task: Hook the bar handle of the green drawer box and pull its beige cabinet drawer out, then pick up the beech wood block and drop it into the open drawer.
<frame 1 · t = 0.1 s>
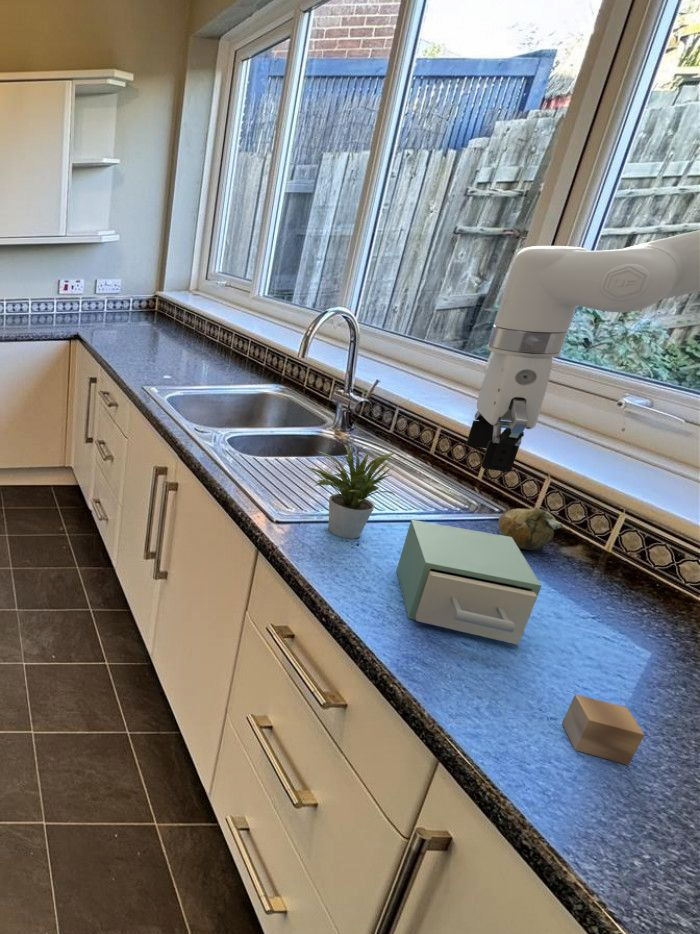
hand: (486, 457, 90), 22 cm above the countertop, tool pointing down, fingers open, 9 cm apart
house plant: (345, 529, 116), on the countertop
onion: (519, 546, 110), on the countertop
beige cabinet drawer: (467, 593, 88), point 5 cm above the countertop, slide at 0.5 cm
block: (593, 743, 69), on the countertop
green drawer box: (451, 604, 94), on the countertop
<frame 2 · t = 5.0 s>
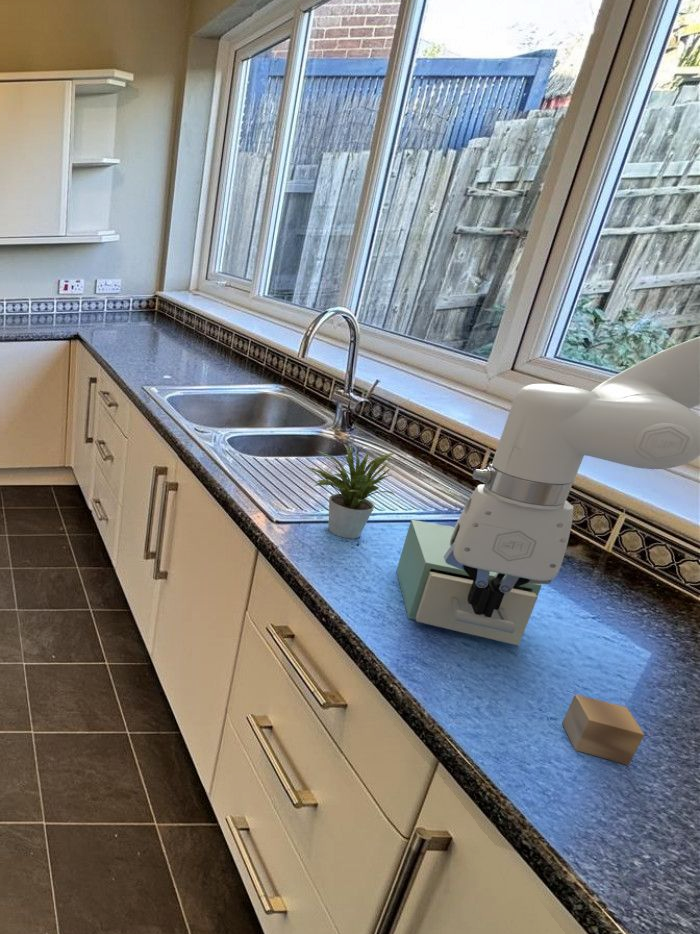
hand: (480, 610, 82), 6 cm above the countertop, tool pointing down, fingers closed
beige cabinet drawer: (467, 594, 88), point 5 cm above the countertop, slide at 0.7 cm, touching gripper
everything else where it was.
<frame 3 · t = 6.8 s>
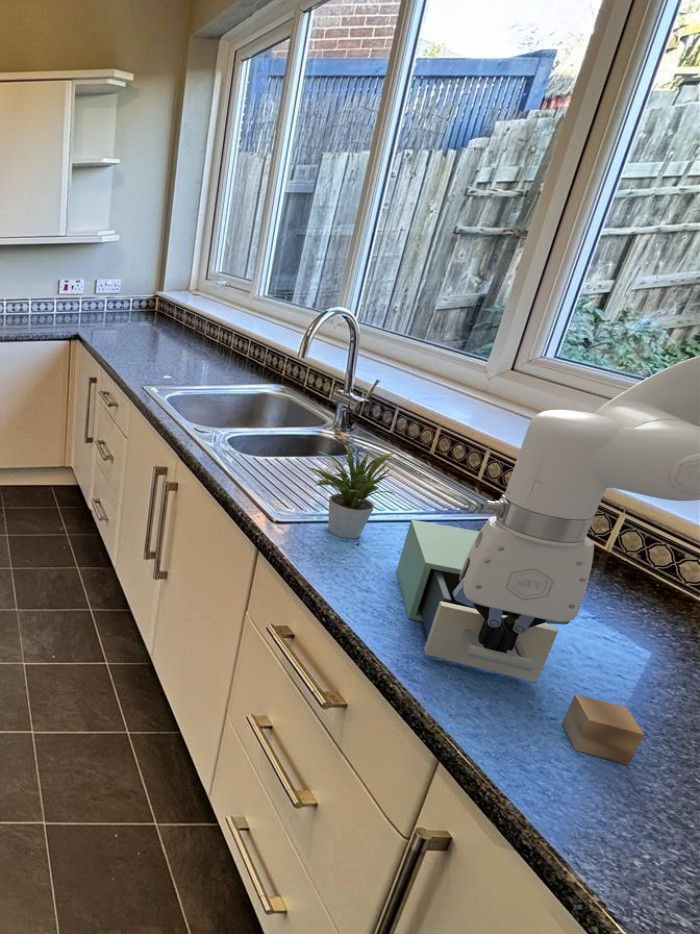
hand: (492, 650, 76), 5 cm above the countertop, tool pointing down, fingers closed
beige cabinet drawer: (480, 624, 82), point 5 cm above the countertop, slide at 8.6 cm
everything else where it was.
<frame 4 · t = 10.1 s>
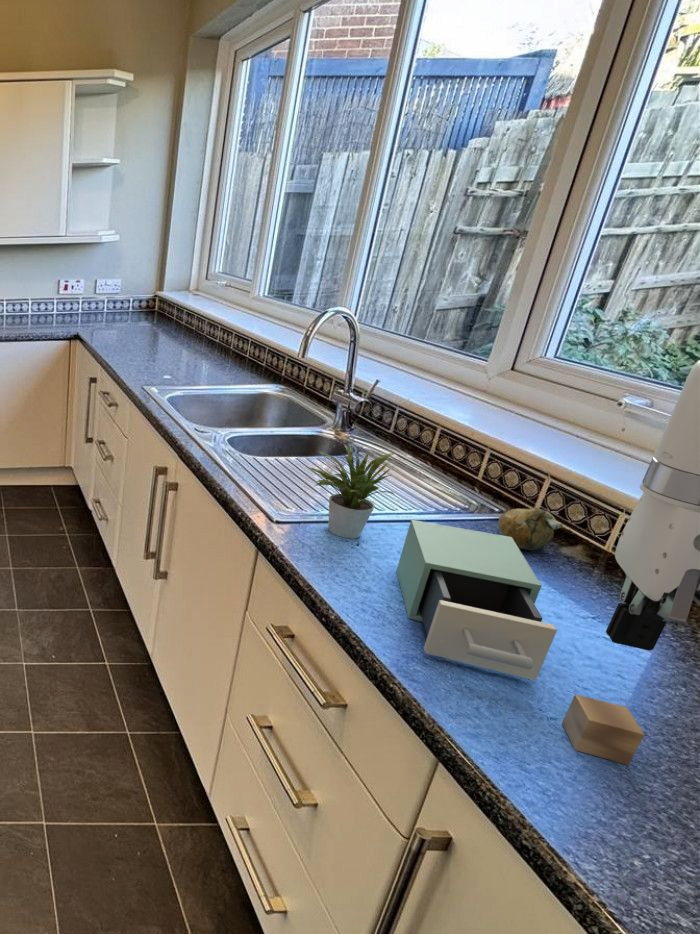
hand: (628, 641, 65), 13 cm above the countertop, tool pointing down, fingers closed
beige cabinet drawer: (479, 623, 82), point 5 cm above the countertop, slide at 8.2 cm
everything else where it was.
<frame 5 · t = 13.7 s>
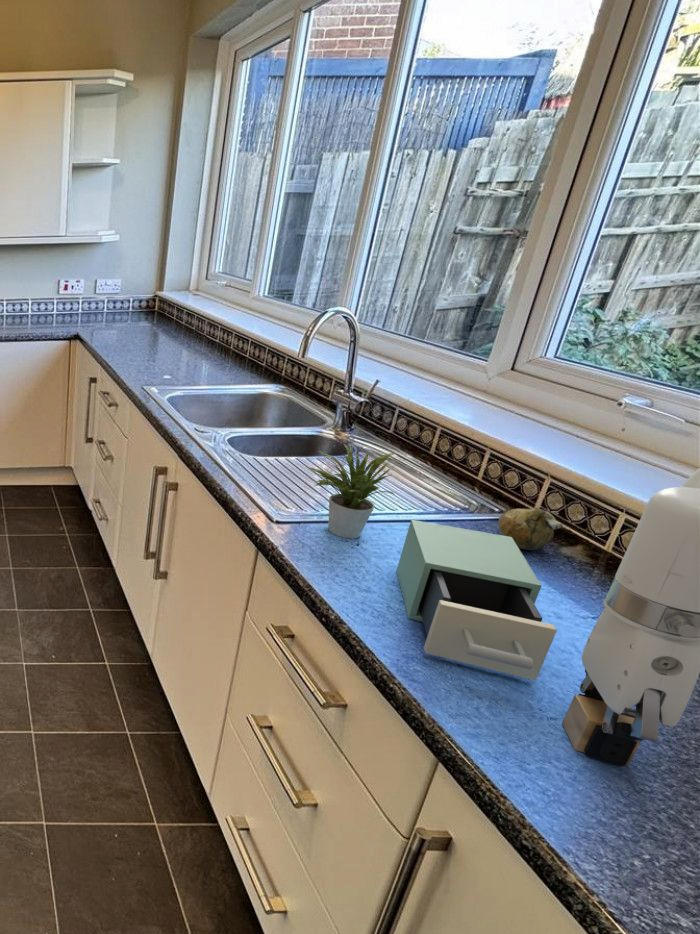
hand: (594, 741, 69), 0 cm above the countertop, tool pointing down, fingers closed on block, 4 cm apart
block: (593, 743, 69), on the countertop, touching gripper
everything else where it was.
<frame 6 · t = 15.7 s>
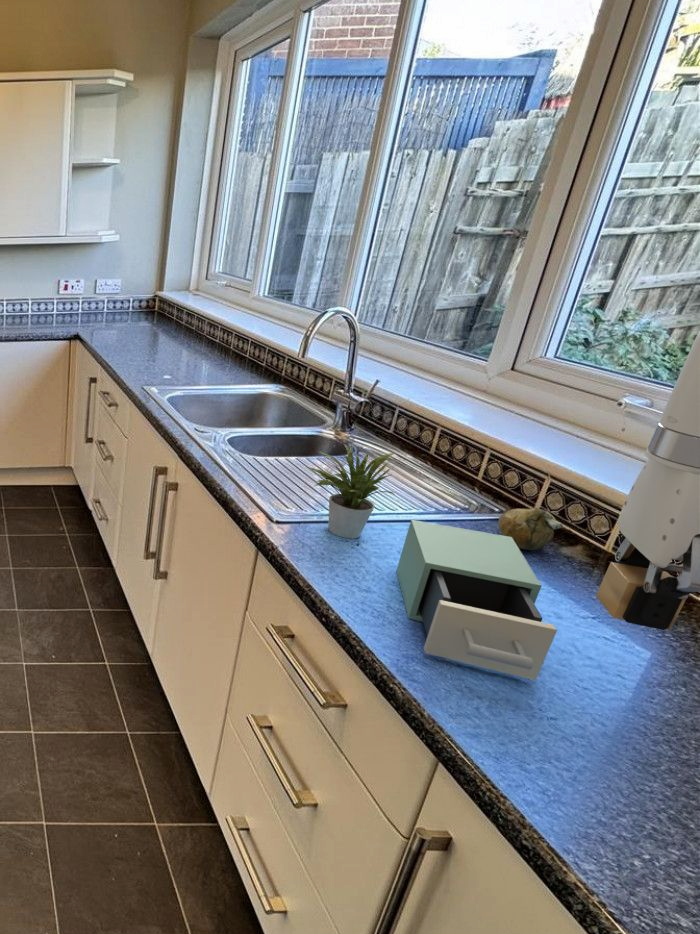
hand: (632, 609, 65), 17 cm above the countertop, tool pointing down, fingers closed on block, 4 cm apart
block: (631, 612, 65), point 16 cm above the countertop, touching gripper
everything else where it was.
when the fingers open (10 cm above the countertop, at t = 18.1 s): block drops 5 cm and tips over, resting on beige cabinet drawer.
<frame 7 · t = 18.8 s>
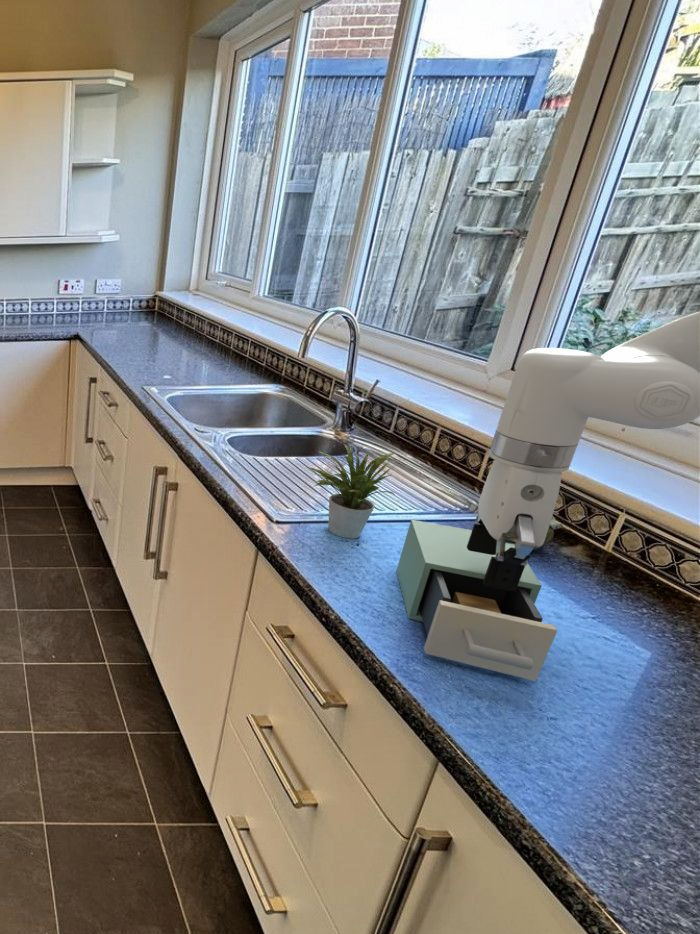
hand: (489, 568, 82), 11 cm above the countertop, tool pointing down, fingers open, 9 cm apart
beige cabinet drawer: (480, 623, 82), point 5 cm above the countertop, slide at 8.3 cm, touching block
block: (470, 608, 86), point 4 cm above the countertop, tilted 90°, touching beige cabinet drawer
everything else where it was.
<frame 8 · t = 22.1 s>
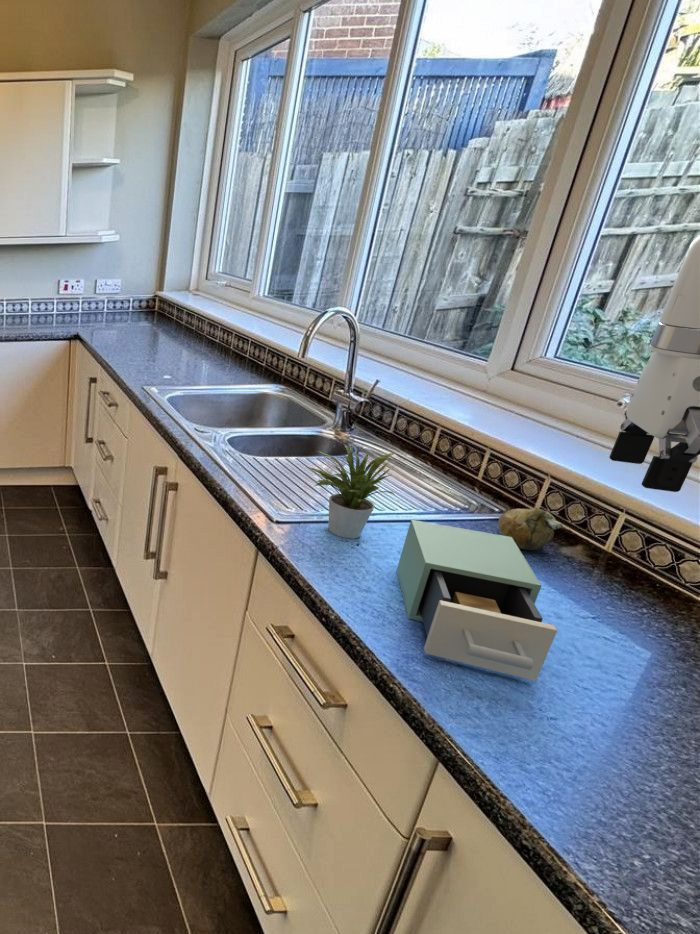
hand: (641, 474, 79), 24 cm above the countertop, tool pointing down, fingers open, 9 cm apart
nothing on the countertop moved.
at the end: beige cabinet drawer slide at 8.3 cm; block inside the target area in the green drawer box (3.9 cm from its centre), point 4.2 cm above the green drawer box's base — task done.
